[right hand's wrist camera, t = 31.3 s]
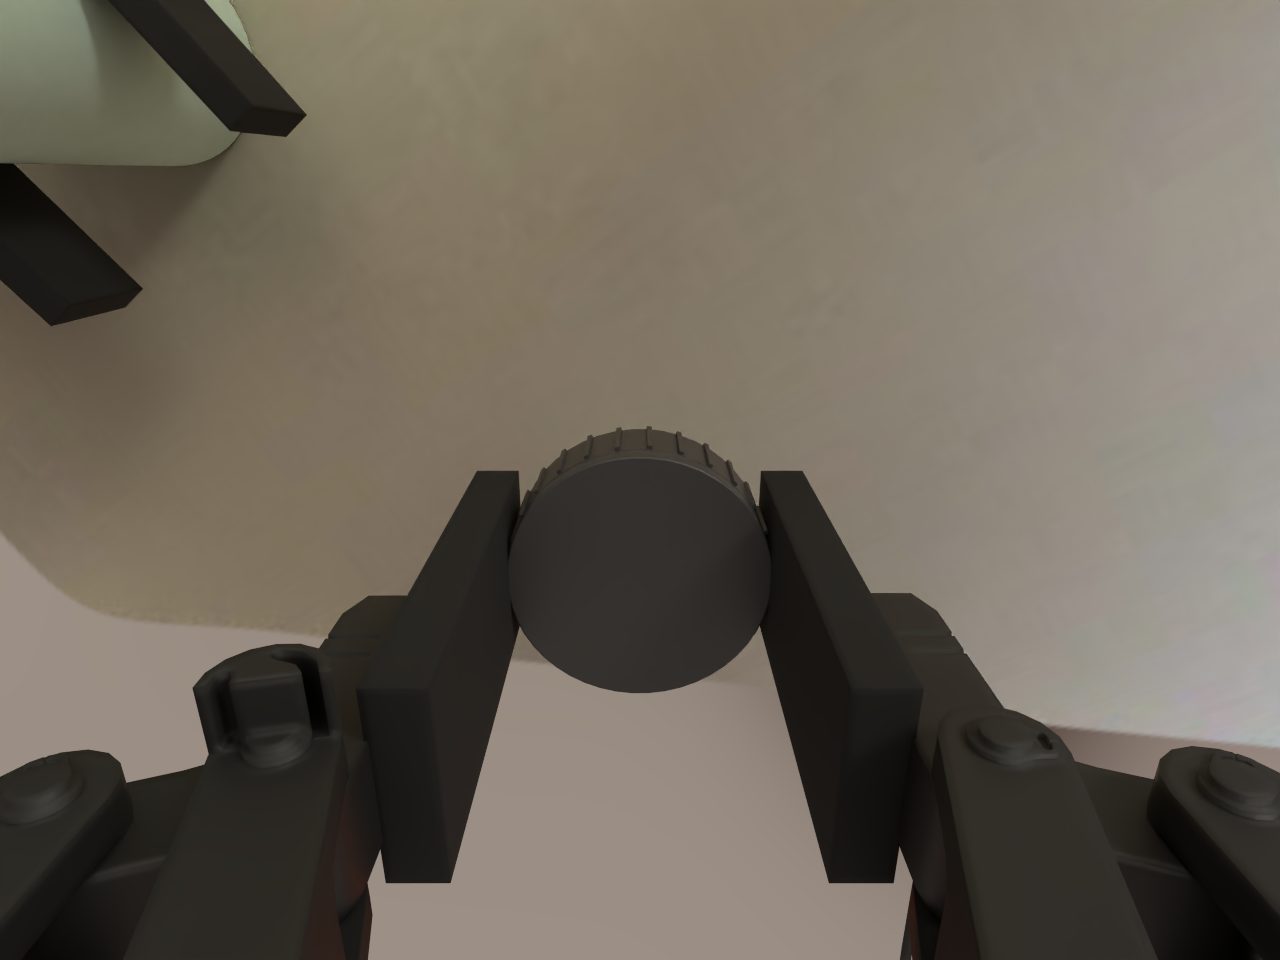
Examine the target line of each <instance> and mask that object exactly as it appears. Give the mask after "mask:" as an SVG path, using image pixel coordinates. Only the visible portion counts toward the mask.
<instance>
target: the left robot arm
mask: <svg viewBox="0 0 1280 960" xmlns="http://www.w3.org/2000/svg"><path fill="white" fill-rule="evenodd" d="M108 1H109V2H110V3H111V4H112V5H113V6H114V7H115V8H116V9H117V10H118V11H119V13H120V14H121V15H122V16H123V17H124V18H125V19H126V20H127V21H128V22H129V23H130V24H131V25H132V26H133V28H134V29H135V30H136V31H137V32H138V33H139V34H140V35H141V36H142V37H143V38H144V39H145V40H146V42H147V43H148V44H149V45H150V46H151V47H152V48H153V49H154V50H155V51H156V52H157V53H158V54H159V55H160V57H161V58H162V59H163V60H164V61H165V62H166V63H167V64H168V65H169V66H170V67H171V68H172V69H173V71H174V72H175V73H176V74H177V75H178V76H179V77H180V78H181V79H182V80H183V81H184V82H185V83H186V84H187V86H188V87H189V88H190V89H191V90H192V91H193V92H194V93H195V94H196V95H197V96H198V97H199V98H200V100H201V101H202V102H203V103H204V104H205V105H206V106H207V107H208V108H209V109H210V110H211V111H212V112H213V113H214V115H215V116H216V117H217V118H218V119H219V120H220V121H221V122H222V123H223V124H224V125H225V126H226V127H227V129H228V130H229V131H234V132H243V133H253V134H263V135H273V136H283V137H286V136H287V135H288V134H289V133H290V132H291V131H292V130H293V129H294V128H295V127H296V126H297V125H298V124H299V123H300V122H301V121H302V120H303V118H304V117H305V116H306V113H305V112H304V111H303V110H302V109H301V108H300V107H299V106H298V105H297V103H296V102H295V101H294V100H293V99H292V98H291V97H290V96H289V94H288V93H287V92H286V91H285V90H284V89H283V88H282V87H281V85H280V84H279V83H278V82H277V81H276V80H275V79H274V78H273V77H272V75H271V74H270V73H269V72H268V71H267V70H266V69H265V68H264V66H263V65H262V64H261V63H260V62H259V61H258V60H257V59H256V57H255V56H254V55H253V54H252V53H251V52H250V51H249V50H248V49H247V47H246V46H245V45H244V44H243V43H242V42H241V41H240V40H239V38H238V37H237V36H236V35H235V34H234V33H233V32H232V31H231V29H230V28H229V27H228V26H227V25H226V24H225V23H224V22H223V21H222V19H221V18H220V17H219V16H218V15H217V14H216V13H215V12H214V10H213V9H212V8H211V7H210V6H209V5H208V4H207V3H206V1H205V0H108ZM0 280H1V281H2V282H3V283H4V284H6V285H7V286H8V287H9V288H10V289H11V290H12V291H13V292H14V293H15V294H17V295H18V296H19V297H20V298H21V299H22V300H23V301H24V302H25V303H26V304H27V305H29V306H30V307H31V308H32V309H33V310H34V311H35V312H36V313H37V314H38V315H39V316H41V317H42V318H43V319H44V320H45V321H46V322H47V323H48V324H49V325H50V326H54V325H58V324H62V323H66V322H69V321H73V320H77V319H81V318H85V317H89V316H93V315H97V314H101V313H105V312H109V311H113V310H117V309H121V308H125V307H126V306H127V305H128V304H129V303H130V302H131V301H132V300H133V299H134V297H135V296H136V295H137V294H138V293H139V292H140V291H141V290H142V289H143V288H142V287H141V286H140V285H138V284H137V283H136V282H135V281H134V280H133V279H132V278H131V277H130V276H129V275H128V274H127V273H126V272H125V271H124V270H123V269H122V268H121V267H120V266H119V265H118V264H117V263H116V262H115V261H114V260H113V259H112V258H111V257H110V256H108V255H107V254H106V253H105V252H104V251H103V250H102V249H101V248H100V247H99V246H98V245H97V244H96V243H95V242H94V241H93V240H92V239H91V238H90V237H89V236H88V235H87V234H86V233H85V232H84V231H83V230H82V229H81V228H80V227H79V226H77V225H76V224H75V223H74V222H73V221H72V220H71V219H70V218H69V217H68V216H67V215H66V214H65V213H64V212H63V211H62V210H61V209H60V208H59V207H58V206H57V205H56V204H55V203H54V202H53V201H52V200H51V199H50V198H49V197H47V196H46V195H45V194H44V193H43V192H42V191H41V190H40V189H39V188H38V187H37V186H36V185H35V184H34V183H33V182H32V181H31V180H30V179H29V178H28V177H27V176H26V175H25V174H24V173H23V172H22V171H21V170H20V169H19V168H17V167H16V166H15V165H14V164H13V163H0Z"/></svg>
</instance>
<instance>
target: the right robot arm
mask: <svg viewBox="0 0 1280 960" xmlns="http://www.w3.org/2000/svg"><path fill="white" fill-rule="evenodd" d="M520 508H521V506H520V489H519V472H518V471H477V472H476V474H475V476H474V477H473V479H472V481H471V483H470V485H469V486H468V488H467V490H466V492H465V494H464V495H463V497H462V499H461V501H460V502H459V504H458V506H457V508H456V510H455V511H454V513H453V515H452V517H451V519H450V520H449V522H448V524H447V526H446V528H445V529H444V531H443V533H442V535H441V536H440V538H439V540H438V542H437V544H436V545H435V547H434V549H433V551H432V553H431V554H430V556H429V558H428V560H427V562H426V563H425V565H424V567H423V569H422V570H421V572H420V574H419V576H418V578H417V579H416V581H415V583H414V585H413V587H412V588H411V590H410V592H409V594H408V596H368V597H366V598H365V599H363V600H362V601H360V602H359V603H358V604H356V605H355V606H353V607H352V608H350V609H349V610H347V611H346V612H344V613H343V614H342V615H341V617H340V618H339V620H338V621H337V623H336V624H335V626H334V627H333V629H332V630H331V632H330V633H329V634H328V639H325V640H324V642H323V643H322V645H321V646H320V648H315V647H310V646H306V645H303V644H275V645H270V646H265V647H261V648H256V649H251V650H248V651H246V652H243V653H241V654H238V655H235V656H233V657H230V658H228V659H226V660H224V661H222V662H221V663H219V664H218V665H216V666H215V667H213V668H212V669H210V670H209V671H207V672H206V673H205V674H204V675H203V676H202V677H201V678H200V680H199V681H198V682H197V683H196V684H195V686H194V687H193V692H194V696H195V700H196V704H197V708H198V712H199V716H200V720H201V724H202V728H203V732H204V736H205V741H206V744H207V749H208V753H209V755H208V757H207V760H206V762H205V764H204V765H202V766H198V767H194V768H191V769H187V770H184V771H179V772H175V773H170V774H165V775H161V776H156V777H151V778H147V779H142V780H137V781H133V782H128V783H126V780H125V777H124V774H123V770H122V767H121V763H120V762H119V761H118V760H116V759H115V758H114V757H113V756H112V755H110V754H109V753H105V752H99V751H93V750H80V751H71V752H63V753H58V754H55V755H50V756H47V757H45V758H44V757H43V758H40V759H37V760H34V761H32V762H29V763H27V764H25V765H23V766H21V767H19V768H17V769H15V770H13V771H11V772H9V773H7V774H5V775H3V776H1V777H0V960H368V952H369V943H370V933H371V924H372V909H371V902H370V895H369V889H368V883H367V882H368V879H369V877H370V874H371V872H372V869H373V867H374V864H375V861H376V859H377V856H378V854H379V851H380V849H381V855H382V861H383V868H384V874H385V880H386V883H451V879H452V875H453V872H454V868H455V864H456V861H457V857H458V853H459V849H460V846H461V842H462V838H463V834H464V831H465V827H466V823H467V820H468V816H469V812H470V808H471V805H472V801H473V797H474V794H475V790H476V786H477V782H478V778H479V775H480V771H481V767H482V764H483V760H484V756H485V753H486V749H487V745H488V742H489V738H490V734H491V730H492V727H493V723H494V719H495V716H496V712H497V708H498V704H499V701H500V697H501V693H502V690H503V686H504V682H505V678H506V674H507V671H508V667H509V663H510V660H511V656H512V652H513V649H514V645H515V641H516V637H517V634H518V630H519V626H520V625H519V623H518V621H517V620H516V617H515V614H514V612H513V609H512V607H511V602H510V590H509V575H508V554H509V550H510V545H511V538H512V535H513V532H514V529H515V526H516V524H517V521H518V517H517V516H518V513H519V511H520ZM759 508H760V511H761V514H762V517H763V519H764V522H765V525H766V527H767V530H768V533H769V534H767V535H765V536H766V538H767V541H768V545H769V549H770V553H771V557H772V566H771V582H770V596H769V604H768V607H767V610H766V613H765V615H764V618H763V620H762V622H761V624H760V628H761V632H762V636H763V639H764V643H765V647H766V650H767V654H768V658H769V662H770V665H771V669H772V673H773V677H774V680H775V684H776V688H777V691H778V695H779V699H780V703H781V706H782V710H783V714H784V717H785V721H786V725H787V728H788V732H789V736H790V740H791V743H792V747H793V751H794V755H795V758H796V762H797V766H798V769H799V773H800V777H801V780H802V784H803V788H804V792H805V796H806V799H807V803H808V807H809V810H810V814H811V818H812V821H813V825H814V829H815V833H816V836H817V840H818V844H819V848H820V851H821V855H822V859H823V862H824V866H825V870H826V874H827V877H828V881H829V883H894V877H895V871H896V864H897V858H898V852H899V846H900V848H901V851H902V854H903V856H904V859H905V862H906V864H907V867H908V869H909V872H910V874H911V877H912V879H913V883H912V890H911V895H910V901H909V907H908V913H907V919H906V925H905V931H904V937H903V943H902V950H901V956H900V960H911V956H912V960H1280V773H1279V772H1277V771H1275V770H1273V769H1271V768H1268V767H1266V766H1264V765H1262V764H1260V763H1258V762H1256V761H1255V760H1253V759H1251V758H1248V757H1245V756H1242V755H1239V754H1234V753H1232V752H1228V751H1224V750H1221V749H1213V748H1205V747H1196V746H1190V747H1184V748H1178V749H1173V750H1171V751H1169V752H1168V753H1167V754H1166V755H1165V756H1163V757H1162V758H1161V759H1160V761H1159V765H1158V768H1157V771H1156V775H1155V778H1154V779H1149V778H1144V777H1139V776H1134V775H1130V774H1125V773H1121V772H1116V771H1111V770H1107V769H1102V768H1097V767H1094V766H1090V765H1086V764H1083V763H1079V762H1076V761H1074V758H1073V756H1072V754H1071V752H1070V751H1069V749H1068V748H1067V746H1066V745H1065V744H1064V742H1063V741H1062V739H1061V738H1060V737H1059V736H1058V735H1057V734H1055V733H1054V732H1053V731H1051V730H1050V729H1049V728H1047V727H1046V726H1045V725H1043V724H1042V723H1041V722H1039V721H1036V720H1034V719H1032V718H1030V717H1028V716H1025V715H1023V714H1021V713H1019V712H1017V711H1012V710H1008V709H1004V707H1003V706H1002V704H1001V703H1000V702H999V700H998V699H997V697H996V696H995V694H994V693H993V691H992V690H991V689H990V687H989V686H988V684H987V683H986V681H985V680H984V678H983V677H982V675H981V674H980V673H979V671H978V670H977V668H976V667H975V665H974V664H973V662H972V661H971V660H970V658H969V657H968V655H967V654H964V652H963V648H962V647H961V645H960V644H959V642H958V641H957V639H956V638H955V636H952V635H951V631H950V629H949V628H948V626H947V625H946V623H945V622H944V620H943V619H942V618H941V616H940V615H939V613H938V612H937V611H936V610H935V609H933V608H932V607H930V606H929V605H927V604H926V603H924V602H923V601H922V600H920V599H919V598H917V597H916V596H914V595H913V594H911V593H870V591H869V589H868V588H867V586H866V584H865V582H864V580H863V579H862V577H861V575H860V573H859V571H858V570H857V568H856V566H855V564H854V563H853V561H852V559H851V557H850V555H849V554H848V552H847V550H846V548H845V546H844V545H843V543H842V541H841V539H840V537H839V536H838V534H837V532H836V530H835V529H834V527H833V525H832V523H831V521H830V520H829V518H828V516H827V514H826V512H825V511H824V509H823V507H822V505H821V503H820V502H819V500H818V498H817V496H816V495H815V493H814V491H813V489H812V487H811V486H810V484H809V482H808V480H807V478H806V477H805V475H804V473H803V471H761V480H760V497H759Z"/></svg>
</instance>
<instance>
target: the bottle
mask: <svg viewBox="0 0 1280 960" xmlns="http://www.w3.org/2000/svg"><path fill="white" fill-rule="evenodd" d="M205 1H206V3H207V4H208V5H209V6H210V7H211V8H212V9H213V10H214V12H215V13H216V14H217V15H218V16H219V17H220V18H221V19H222V21H223V22H224V23H225V24H226V25H227V26H228V27H229V28H230V29H231V31H232V32H233V33H234V34H235V35H236V36H237V37H238V38H239V40H240V41H241V42H242V43H243V44H244V45H245V46H246V47H247V49H248V50H249V51H250V52H251V53H252V51H251V47H250V44H249V41H248V38H247V35H246V32H245V30H244V28H243V25H242V23H241V21H240V19H239V17H238V15H237V14H236V12H235V10H234V8H233V7H232V5H231V4H230V2H229V1H228V0H205ZM239 134H240V132H234V131H229V130H228V129H227V127H226V126H225V125H224V124H223V123H222V122H221V121H220V120H219V119H218V118H217V117H216V116H215V115H214V113H213V112H212V111H211V110H210V109H209V108H208V107H207V106H206V105H205V104H204V103H203V102H202V101H201V100H200V98H199V97H198V96H197V95H196V94H195V93H194V92H193V91H192V90H191V89H190V88H189V87H188V86H187V84H186V83H185V82H184V81H183V80H182V79H181V78H180V77H179V76H178V75H177V74H176V73H175V72H174V71H173V69H172V68H171V67H170V66H169V65H168V64H167V63H166V62H165V61H164V60H163V59H162V58H161V57H160V55H159V54H158V53H157V52H156V51H155V50H154V49H153V48H152V47H151V46H150V45H149V44H148V43H147V42H146V40H145V39H144V38H143V37H142V36H141V35H140V34H139V33H138V32H137V31H136V30H135V29H134V28H133V26H132V25H131V24H130V23H129V22H128V21H127V20H126V19H125V18H124V17H123V16H122V15H121V14H120V13H119V11H118V10H117V9H116V8H115V7H114V6H113V5H112V4H111V3H110V2H109V1H108V0H0V163H17V164H79V165H140V166H188V165H193V164H198V163H201V162H204V161H207V160H209V159H211V158H213V157H215V156H217V155H218V154H220V153H221V152H223V151H224V150H225V149H226V148H228V147H229V146H230V145H231V144H232V143H233V141H234V140H235V139H236V138H237V137H238V135H239Z"/></svg>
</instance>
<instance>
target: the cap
mask: <svg viewBox="0 0 1280 960" xmlns="http://www.w3.org/2000/svg"><path fill="white" fill-rule="evenodd" d="M517 517H518V521H517V524H516V526H515V529H514V532H513V535H512V538H511V545H510V550H509V554H508V575H509V590H510V602H511V607H512V609H513V612H514V614H515V617H516V620H517V621H518V623H519V625H520V627H521V629H522V631H523V632H524V634H525V635H526V637H527V638H528V639H529V641H530V642H531V643H532V645H533V646H534V647H535V648H536V649H537V650H538V651H539V652H540V653H541V654H542V656H543V657H544V658H546V659H547V660H548V661H549V662H551V663H552V664H553V665H554V666H556V667H557V668H559V669H560V670H562V671H563V672H565V673H567V674H568V675H570V676H572V677H574V678H576V679H578V680H580V681H582V682H584V683H587V684H590V685H593V686H596V687H599V688H603V689H608V690H612V691H618V692H628V693H652V692H661V691H667V690H672V689H676V688H680V687H683V686H686V685H689V684H692V683H695V682H697V681H699V680H701V679H703V678H705V677H707V676H710V675H711V674H713V673H714V672H716V671H718V670H719V669H721V668H722V667H724V666H725V665H726V664H727V663H729V662H730V661H731V660H732V659H733V658H735V657H736V656H737V655H738V654H739V653H740V652H741V651H742V650H743V648H744V647H745V646H746V645H747V644H748V643H749V641H750V640H751V638H752V637H753V636H754V634H755V633H756V631H757V629H758V627H759V626H760V624H761V622H762V620H763V618H764V615H765V613H766V610H767V607H768V604H769V596H770V582H771V566H772V557H771V553H770V549H769V545H768V541H767V538H766V536H765V535H767V534H769V533H768V530H767V527H766V525H765V522H764V519H763V517H762V514H761V511H760V508H759V506H756V504H755V501H754V498H753V495H752V493H751V490H750V487H749V484H748V483H747V481H746V482H744V483H743V481H742V480H741V479H740V477H739V476H738V475H737V473H736V472H735V471H734V470H733V467H732V463H731V462H730V461H729V460H727V461H726V462H725V461H724V460H723V459H722V458H721V457H719V456H718V455H717V454H715V453H714V452H713V451H711V450H710V449H709V445H708V444H706V443H704V444H703V445H701V444H699V443H697V442H695V441H693V440H690V439H688V438H685V437H683V436H682V434H681V432H678V431H677V432H676V434H672V433H668V432H664V431H657V430H652V427H651V426H647V429H630V430H623V431H622V429H621V427H620V428H617V429H616V431H615V432H611V433H607V434H603V435H599V436H596V437H594V438H593V436H592V435H590V436H588V437H587V441H584V442H582V443H580V444H578V445H577V446H575V447H573V448H571V449H570V450H568V451H567V450H566V449H564V450H562V452H561V456H560V457H559V458H557V459H556V460H555V461H554V462H553V463H552V464H551V465H550V466H549V467H548V468H547V469H545V468H544V467H543V468H542V470H541V472H540V475H539V478H538V480H537V482H536V483H535V485H534V487H533V488H532V490H531V491H529V490H527V492H526V494H525V497H524V500H523V502H522V505H521V508H520V511H519V513H518V516H517Z"/></svg>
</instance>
